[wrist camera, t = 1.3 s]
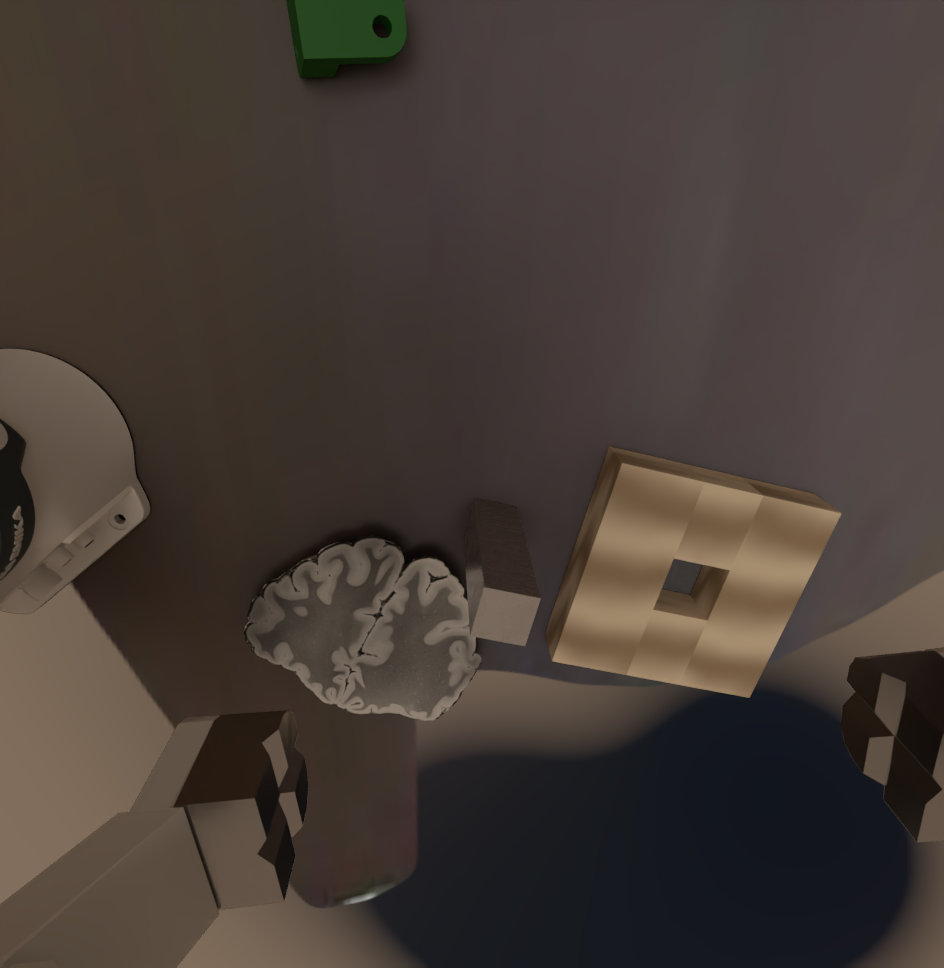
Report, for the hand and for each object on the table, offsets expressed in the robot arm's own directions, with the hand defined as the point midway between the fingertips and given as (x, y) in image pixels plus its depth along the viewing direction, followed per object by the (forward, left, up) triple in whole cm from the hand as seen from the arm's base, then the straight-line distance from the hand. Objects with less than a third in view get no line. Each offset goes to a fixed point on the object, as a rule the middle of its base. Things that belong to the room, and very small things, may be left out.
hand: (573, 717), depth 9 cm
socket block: (-4, -26, -40) cm, 48 cm away
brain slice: (-24, -9, -41) cm, 48 cm away
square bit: (-11, -11, -40) cm, 43 cm away
